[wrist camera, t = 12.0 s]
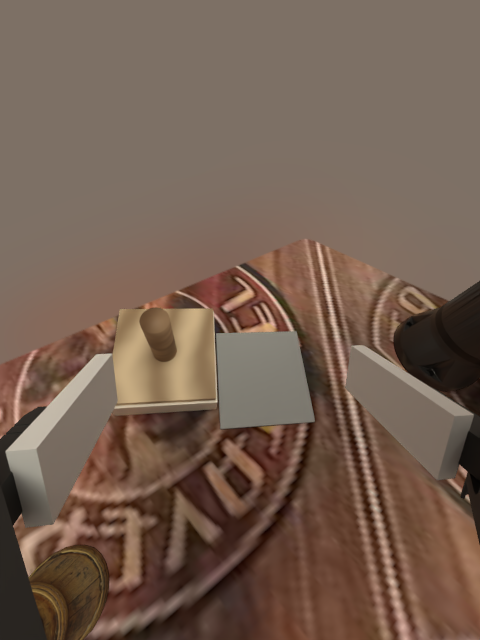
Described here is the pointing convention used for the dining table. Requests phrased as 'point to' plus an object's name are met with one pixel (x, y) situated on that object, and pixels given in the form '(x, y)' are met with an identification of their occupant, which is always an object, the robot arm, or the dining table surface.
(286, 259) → the dining table surface
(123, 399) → the oak cover
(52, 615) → the wooden mug
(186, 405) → the wooden box
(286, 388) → the rubber mat
